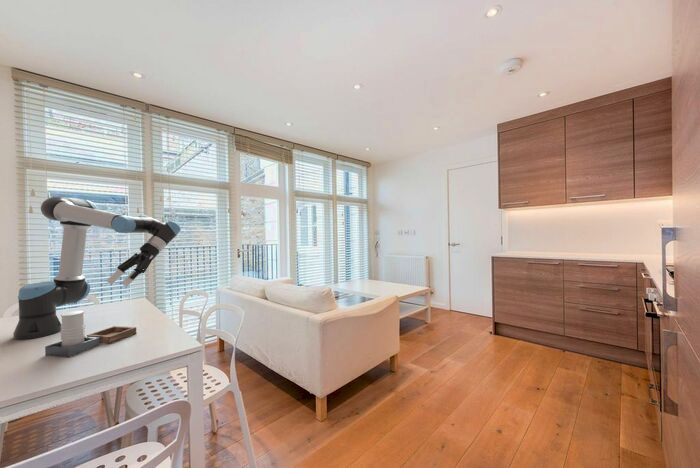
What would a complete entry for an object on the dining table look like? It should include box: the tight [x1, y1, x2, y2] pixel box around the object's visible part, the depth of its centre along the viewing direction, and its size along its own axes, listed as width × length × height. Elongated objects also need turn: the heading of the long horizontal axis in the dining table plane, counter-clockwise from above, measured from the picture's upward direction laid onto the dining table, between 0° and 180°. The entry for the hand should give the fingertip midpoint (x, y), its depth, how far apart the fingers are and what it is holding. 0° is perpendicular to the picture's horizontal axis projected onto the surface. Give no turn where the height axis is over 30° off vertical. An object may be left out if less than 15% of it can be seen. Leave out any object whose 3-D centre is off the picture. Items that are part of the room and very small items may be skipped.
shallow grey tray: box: [44, 336, 100, 359], centre depth 113 cm, size 11×11×4 cm
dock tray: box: [86, 325, 137, 345], centre depth 127 cm, size 12×12×3 cm
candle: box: [60, 310, 86, 347], centre depth 113 cm, size 7×7×15 cm
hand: (116, 283), depth 124 cm, fingers open, 13 cm apart
